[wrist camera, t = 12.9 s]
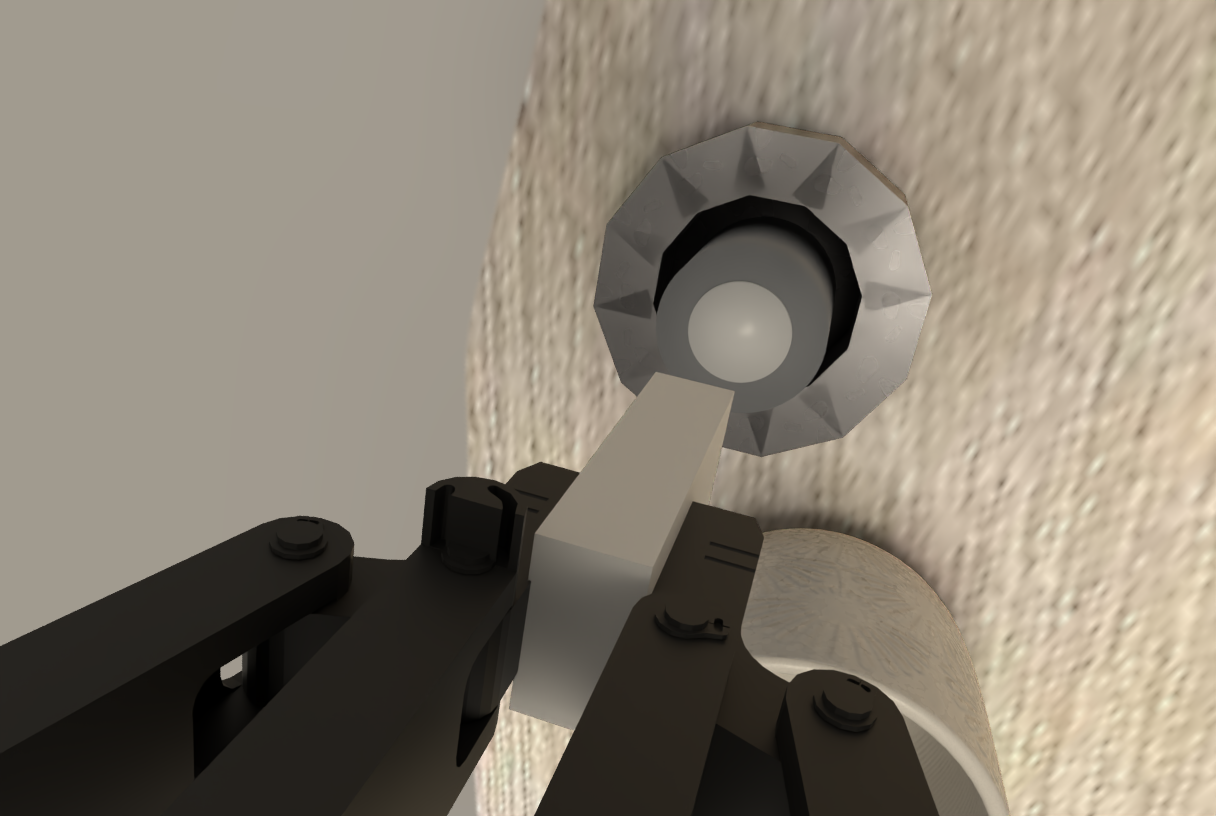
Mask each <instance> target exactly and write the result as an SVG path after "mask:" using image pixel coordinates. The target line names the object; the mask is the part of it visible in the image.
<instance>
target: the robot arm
mask: <svg viewBox="0 0 1216 816" xmlns="http://www.w3.org/2000/svg"><path fill="white" fill-rule="evenodd" d="M734 392H735V391H732V390H728V389H724V388H720V387H716V386H712V385H707V384H703V383H699V382H695V381H691V380H687V379H683V378H679V377H675V376H671V375H667V374H663V373H659V372H655V374H654V375H653V376H652V378H651V379H650V380H649V382H648V383H647V384H646V386H645V387H644V388H643V390H642V391H641V392H640V394H639V395H638V396H637V398H636V399H635V400H634V402H633V403H632V404H631V406H630V407H629V408H628V410H627V411H626V412H625V414H624V415H623V416H622V418H621V419H620V420H619V422H618V423H617V424H616V426H615V427H614V428H613V430H612V431H611V432H610V434H609V435H608V436H607V438H606V439H605V440H604V442H603V443H602V444H601V446H600V447H599V448H598V450H597V451H596V452H595V454H594V455H593V456H592V458H591V459H590V460H589V462H588V463H587V464H586V466H585V467H584V468H583V470H582V471H581V472H580V473H579V472H576V471H572V470H568V469H565V468H561V467H557V466H554V465H550V464H546V463H543V462H539V463H537V464H534V465H532V466H529V467H527V468H524V469H522V470H519V471H517V472H516V473H515V474H514V475H513V476H512V478H511V479H510V480H509V481H508V482H507V483H506V484H503V483H500V482H498V481H495V480H490V479H485V478H479V477H454V478H450V479H445V480H441V481H438V482H436V483H434V484H432V485H431V486H429V487H427V488H426V496H425V507H424V518H423V529H422V540H421V545H420V546H419V547H418V548H417V549H416V550H415V551H414V552H413V553H412V554H411V555H410V556H409V557H408V558H407V559H406V560H386V559H376V558H365V557H354V556H353V555H354V541H353V539H352V537H351V535H350V532H348V531H347V530H346V529H344V528H343V527H342V526H340V525H339V524H337V523H334V522H331V521H328V520H325V519H322V518H317V517H309V516H296V517H288V518H279V519H276V520H273V521H270V522H267V523H263V524H261V525H259V526H257V527H255V528H252V529H250V530H248V531H246V532H244V533H242V534H240V535H237V536H235V537H233V538H231V539H229V540H227V541H224V542H222V543H220V544H218V545H216V546H214V547H212V548H209V549H207V550H205V551H203V552H201V553H199V554H197V555H194V556H192V557H190V558H188V559H186V560H184V561H182V562H179V563H177V564H175V565H173V566H171V567H169V568H167V569H165V570H162V571H160V572H158V573H156V574H154V575H152V576H149V577H147V578H145V579H143V580H141V581H139V582H137V583H134V584H132V585H130V586H128V587H126V588H124V589H122V590H120V591H117V592H115V593H113V594H111V595H109V596H107V597H105V598H103V599H100V600H98V601H96V602H94V603H92V604H90V605H87V606H85V607H83V608H81V609H79V610H77V611H75V612H73V613H70V614H68V615H66V616H64V617H62V618H60V619H58V620H55V621H53V622H51V623H49V624H47V625H45V626H42V627H40V628H38V629H36V630H34V631H32V632H30V633H27V634H25V635H23V636H21V637H19V638H17V639H15V640H12V641H10V642H8V643H6V644H4V645H2V646H0V816H447V815H448V813H449V811H450V809H451V808H452V806H453V804H454V803H455V801H456V799H457V797H458V796H459V794H460V792H461V790H462V789H463V787H464V785H465V784H466V782H467V780H468V778H469V777H470V775H471V773H472V771H473V770H474V768H475V766H476V765H477V763H478V761H479V760H480V758H481V756H482V754H483V753H484V751H485V749H486V747H487V746H488V744H489V742H490V741H491V739H492V737H493V735H494V732H495V729H496V725H497V721H498V714H499V707H500V700H501V699H502V697H503V695H504V694H505V692H506V690H507V689H508V687H509V685H510V684H511V682H512V681H513V686H512V692H511V699H510V706H509V709H510V710H513V711H516V712H519V713H522V714H525V715H528V716H531V717H534V718H537V719H540V720H543V721H546V722H549V723H552V724H555V725H558V726H561V727H564V728H567V729H570V730H573V731H574V733H573V735H572V737H571V739H570V741H569V743H568V745H567V747H566V749H565V752H564V754H563V756H562V758H561V760H560V762H559V764H558V766H557V769H556V771H555V773H554V775H553V777H552V779H551V781H550V783H549V785H548V788H547V790H546V792H545V794H544V796H543V798H542V800H541V802H540V804H539V807H538V809H537V811H536V813H535V815H534V816H939V813H938V810H937V808H936V805H935V802H934V800H933V797H932V794H931V791H930V789H929V786H928V783H927V780H926V778H925V775H924V772H923V769H922V767H921V764H920V761H919V759H918V756H917V753H916V750H915V748H914V745H913V742H912V739H911V737H910V734H909V731H908V729H907V726H906V723H905V720H904V718H903V716H902V714H901V713H900V711H899V709H898V708H897V706H896V705H895V703H894V701H893V700H891V699H890V698H889V697H888V696H887V695H886V694H884V693H883V692H882V691H881V690H880V689H879V688H878V687H876V686H874V685H872V684H870V683H868V682H867V681H865V680H863V679H861V678H859V677H857V676H854V675H851V674H847V673H844V672H840V671H836V670H822V669H813V670H809V671H806V672H803V673H800V674H797V675H796V676H795V677H794V678H793V679H792V680H791V681H790V682H788V681H786V680H784V679H782V678H780V677H779V676H777V675H775V674H774V673H772V672H771V671H769V670H768V669H766V668H765V667H763V666H762V665H761V664H760V663H759V662H758V661H757V660H756V659H754V658H753V657H752V655H751V654H750V653H749V651H748V650H747V648H746V647H745V645H744V642H743V640H742V637H741V626H742V622H743V618H744V614H745V610H746V607H747V603H748V599H749V595H750V591H751V587H752V583H753V579H754V575H755V572H756V568H757V564H758V560H759V556H760V552H761V548H762V544H763V540H764V536H763V534H762V531H761V529H760V527H759V525H758V523H757V521H756V519H755V518H753V517H749V516H745V515H742V514H738V513H734V512H731V511H727V510H723V509H720V508H716V507H712V506H709V502H710V498H711V493H712V489H713V485H714V480H715V476H716V471H717V467H718V463H719V458H720V454H721V449H722V445H723V440H724V436H725V432H726V427H727V423H728V418H729V414H730V410H731V405H732V401H733V396H734ZM240 655H242V671H240V672H239V673H237V674H236V675H234V676H232V677H230V678H228V679H225V680H221V677H220V667H222V666H224V665H225V664H227V663H229V662H230V661H232V660H234V659H235V658H237V657H239V656H240Z"/></svg>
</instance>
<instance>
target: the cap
mask: <svg viewBox="0 0 1216 816" xmlns="http://www.w3.org/2000/svg"><path fill="white" fill-rule="evenodd" d="M835 296H836V279H835V273H834V269H833V265H832V263H831V260H830V258H829V256H828V254H827V252H826V250H825V249H824V248H823V246H822V245H821V244H820V242H819V241H818V240H817V239H816V238H815V237H814V236H813V235H812V234H811V233H809V232H808V231H807V230H805V229H804V228H802V227H800V226H799V225H797V224H795V223H792V222H790V221H787V220H784V219H780V218H774V217H753V218H748V219H744V220H740V221H738V222H735V223H733V224H731V225H729V226H727V227H726V228H724V229H722V230H721V231H720V232H719V233H717V234H716V235H715V236H714V237H713V238H712V239H711V240H710V241H709V242H708V243H707V244H706V245H705V246H704V247H703V248H702V249H701V250H700V251H699V252H698V253H697V254H696V255H695V256H694V257H693V258H692V259H691V260H690V261H689V262H688V263H687V264H686V265H685V266H684V267H683V268H682V269H681V270H680V271H679V272H678V273H677V274H676V275H675V276H674V278H673V279H672V280H671V281H670V283H669V284H668V286H667V288H666V290H665V291H664V293H663V296H662V298H661V301H660V304H659V308H658V312H657V318H656V337H657V344H658V348H659V351H660V355H661V357H662V360H663V362H664V364H665V366H666V368H667V370H668V371H669V373H670V375H671V376H675V377H679V378H683V379H687V380H691V381H695V382H699V383H703V384H707V385H712V386H716V387H720V388H724V389H728V390H732V391H735V392H734V396H733V401H732V405H731V410H730V412H733V413H753V412H760V411H765V410H768V409H771V408H774V407H777V406H779V405H781V404H783V403H785V402H787V401H789V400H790V399H792V398H793V397H795V396H796V395H797V394H799V393H800V392H801V391H802V390H803V389H804V388H805V387H806V386H807V385H808V384H809V383H810V382H811V380H812V379H813V377H814V376H815V374H816V373H817V371H818V369H819V367H820V365H821V363H822V361H823V358H824V355H825V352H826V347H827V341H828V336H829V330H830V324H831V319H832V313H833V308H834V302H835Z"/></svg>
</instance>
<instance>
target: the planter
mask: <svg viewBox="0 0 1216 816" xmlns="http://www.w3.org/2000/svg"><path fill="white" fill-rule="evenodd" d="M762 534H763V536H764V540H763V544H762V548H761V552H760V556H759V560H758V564H757V568H756V572H755V575H754V579H753V583H752V587H751V591H750V595H749V599H748V603H747V607H746V610H745V614H744V618H743V622H742V626H741V637H742V640H743V642H744V645H745V647H746V648H747V650H748V651H749V653H750V654H751V655H752V657H753V658H754V659H756V660H757V661H758V662H759V663H760V664H761V665H762V666H763V667H765V668H766V669H768V670H769V671H771V672H772V673H774V674H775V675H777V676H779V677H780V678H782V679H784V680H786V681H788V682H790V681H791V680H792V679H793V678H794V677H795V676H796V675H797V674H800V673H803V672H806V671H809V670H813V669H822V670H836V671H840V672H844V673H847V674H851V675H854V676H857V677H859V678H861V679H863V680H865V681H867V682H868V683H870V684H872V685H874V686H876V687H878V688H879V689H880V690H881V691H882V692H883V693H884V694H886V695H887V696H888V697H889V698H890V699H891V700H893V701H894V703H895V705H896V706H897V708H898V709H899V711H900V713H901V714H902V716H903V718H904V720H905V723H906V726H907V729H908V731H909V734H910V737H911V739H912V742H913V745H914V748H915V750H916V753H917V756H918V759H919V761H920V764H921V767H922V769H923V772H924V775H925V778H926V780H927V783H928V786H929V789H930V791H931V794H932V797H933V800H934V802H935V805H936V808H937V810H938V813H939V816H1010V811H1009V807H1008V802H1007V798H1006V794H1005V789H1004V785H1003V780H1002V776H1001V771H1000V767H999V762H998V758H997V754H996V750H995V745H994V741H993V737H992V733H991V728H990V724H989V720H988V716H987V712H986V708H985V704H984V701H983V697H982V694H981V690H980V686H979V683H978V679H977V676H976V672H975V669H974V666H973V663H972V660H971V658H970V655H969V653H968V650H967V648H966V645H965V643H964V640H963V638H962V636H961V633H960V631H959V629H958V627H957V625H956V623H955V622H954V620H953V618H952V616H951V614H950V613H949V611H948V609H947V608H946V607H945V605H944V604H943V602H942V601H941V600H940V598H939V597H938V595H937V594H936V593H935V592H934V591H933V589H932V588H931V587H930V586H929V585H928V584H927V583H926V582H925V580H924V579H922V578H921V577H920V576H919V575H918V574H917V573H916V572H915V571H914V570H913V569H911V568H910V567H909V566H907V565H906V564H905V563H904V562H902V561H901V560H899V559H898V558H896V557H895V556H893V555H891V554H890V553H888V552H887V551H885V550H883V549H881V548H879V547H877V546H875V545H873V544H871V543H869V542H866V541H863V540H861V539H858V538H856V537H853V536H849V535H845V534H842V533H838V532H833V531H827V530H820V529H810V528H791V529H780V530H774V531H768V532H763V533H762Z"/></svg>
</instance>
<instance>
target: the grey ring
mask: <svg viewBox="0 0 1216 816" xmlns="http://www.w3.org/2000/svg"><path fill="white" fill-rule="evenodd" d="M753 217H774V218H780V219H784V220H787V221H790V222H792V223H795V224H797V225H799V226H800V227H802V228H804V229H805V230H807V231H808V232H809V233H811V234H812V235H813V236H814V237H815V238H816V239H817V240H818V241H819V242H820V244H821V245H822V246H823V248H824V249H825V250H826V252H827V254H828V256H829V258H830V260H831V263H832V265H833V269H834V273H835V279H836V296H835V302H834V308H833V313H832V319H831V324H830V330H829V336H828V341H827V347H826V352H825V355H824V358H823V361H822V363H821V365H820V367H819V369H818V371H817V373H816V374H815V376H814V377H813V379H812V380H811V382H810V383H809V384H808V385H807V386H806V387H805V388H804V389H803V390H802V391H801V392H800V393H799V394H797V395H796V396H795V397H793V398H792V399H790V400H789V401H787V402H785V403H783V404H781V405H779V406H777V407H774V408H771V409H768V410H765V411H760V412H753V413H733V412H730V414H729V418H728V423H727V427H726V432H725V436H724V440H723V445H722V447H724V448H728V449H732V450H736V451H740V452H744V453H748V454H752V455H756V456H760V457H763V456H767V455H772V454H776V453H780V452H784V451H788V450H793V449H797V448H801V447H805V446H809V445H814V444H818V443H822V442H826V441H830V440H835V439H839V438H843V437H844V436H845V435H846V434H847V433H848V432H850V431H851V430H852V429H853V428H854V427H855V426H856V425H857V424H858V423H859V422H860V421H862V420H863V419H864V418H865V417H866V416H867V415H868V414H869V413H870V412H871V411H873V410H874V409H875V408H876V407H877V406H878V405H879V404H880V403H881V402H882V401H883V400H885V399H886V398H887V397H888V396H889V395H890V394H891V393H892V392H893V391H894V390H895V389H897V388H898V387H899V386H900V385H901V384H902V383H903V382H904V381H905V380H906V379H907V376H908V373H909V370H910V366H911V363H912V360H913V356H914V353H915V350H916V346H917V343H918V340H919V336H920V333H921V330H922V326H923V323H924V320H925V317H926V313H927V310H928V307H929V303H930V300H931V297H932V292H931V288H930V284H929V280H928V277H927V273H926V269H925V266H924V262H923V258H922V255H921V251H920V248H919V244H918V240H917V237H916V233H915V229H914V226H913V222H912V218H911V215H910V211H909V207H908V204H907V200H906V196H905V194H904V193H903V192H901V191H900V190H899V189H898V188H897V187H896V186H895V185H894V184H893V183H892V182H890V181H889V180H888V179H887V178H886V177H885V176H884V175H883V174H882V173H881V172H880V171H878V170H877V169H876V168H875V167H874V166H873V165H872V164H871V163H870V162H869V161H867V160H866V159H865V158H864V157H863V156H862V155H861V154H860V153H859V152H858V151H857V150H855V149H854V148H853V147H852V146H851V145H850V144H849V143H848V142H847V141H846V140H844V139H843V138H842V137H838V136H833V135H828V134H822V133H817V132H812V131H806V130H801V129H796V128H790V127H785V126H780V125H774V124H769V123H764V122H755V123H752V124H750V125H747V126H744V127H741V128H739V129H736V130H733V131H731V132H728V133H725V134H722V135H720V136H717V137H714V138H712V139H709V140H706V141H703V142H701V143H698V144H695V145H693V146H690V147H687V148H685V149H682V150H679V151H676V152H674V153H671V154H668V155H666V156H663V157H661V158H660V160H659V161H658V162H657V163H656V164H655V166H654V167H653V168H652V169H651V171H650V172H649V173H648V174H647V176H646V177H645V178H644V179H643V180H642V182H641V183H640V184H639V185H638V187H637V188H636V189H635V190H634V191H633V193H632V194H631V195H630V196H629V198H628V199H627V200H626V201H625V203H624V204H623V205H622V206H621V207H620V209H619V210H618V211H617V212H616V214H615V215H614V216H613V217H612V218H611V220H610V221H609V222H608V223H607V226H606V232H605V238H604V244H603V251H602V257H601V263H600V269H599V275H598V282H597V288H596V294H595V300H594V309H595V312H596V314H597V317H598V320H599V323H600V325H601V328H602V331H603V334H604V336H605V339H606V342H607V345H608V347H609V350H610V353H611V356H612V358H613V361H614V364H615V367H616V369H617V372H618V375H619V378H620V380H621V383H622V384H624V385H625V386H626V387H627V388H628V389H629V390H630V391H631V392H633V393H634V394H635V395H636V396H638V395H639V394H640V392H641V391H642V390H643V388H644V387H645V386H646V384H647V383H648V382H649V380H650V379H651V378H652V376H653V375H654V374H655V372H659V373H663V374H667V375H670V373H669V371H668V370H667V368H666V366H665V364H664V362H663V360H662V357H661V355H660V351H659V348H658V344H657V337H656V318H657V312H658V308H659V304H660V301H661V298H662V296H663V293H664V291H665V290H666V288H667V286H668V284H669V283H670V281H671V280H672V279H673V278H674V276H675V275H676V274H677V273H678V272H679V271H680V270H681V269H682V268H683V267H684V266H685V265H686V264H687V263H688V262H689V261H690V260H691V259H692V258H693V257H694V256H695V255H696V254H697V253H698V252H699V251H700V250H701V249H702V248H703V247H704V246H705V245H706V244H707V243H708V242H709V241H710V240H711V239H712V238H713V237H714V236H715V235H716V234H717V233H719V232H720V231H721V230H722V229H724V228H726V227H727V226H729V225H731V224H733V223H735V222H738V221H740V220H744V219H748V218H753Z"/></svg>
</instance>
